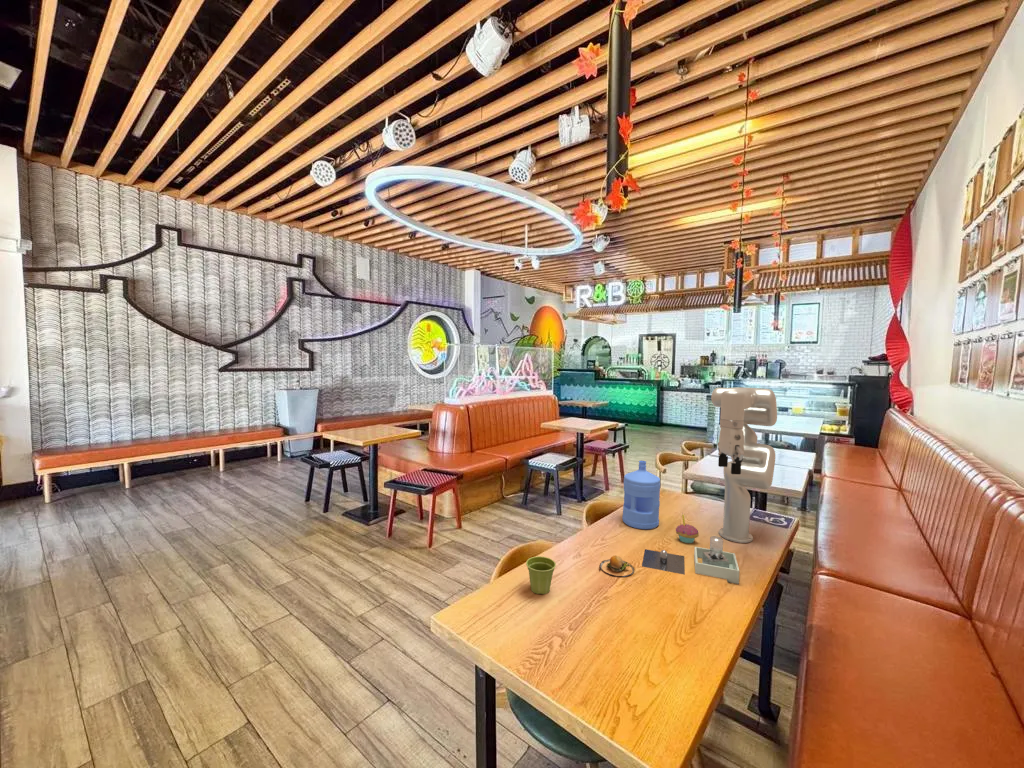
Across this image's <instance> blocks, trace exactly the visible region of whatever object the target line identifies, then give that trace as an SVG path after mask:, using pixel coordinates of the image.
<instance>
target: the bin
mask: <svg viewBox="0 0 1024 768" xmlns="http://www.w3.org/2000/svg"><path fill="white" fill-rule="evenodd" d="M693 552H694V553H693V556H694V557H693V558H694V559H693V560H694V570H695V571H694V573H695V574H697V575H702V576H708V577H712V578H713V577H714V578H716V579H717V578H718V579H722V580H726V582H727V583H730V584H735V585H739V584H740V569H739V564H738V560H737V557H736V553H734V552H728V551H724V550H723V553H722V554H723V555H724V556H725V557H726V558H727V559H728V560H729V561H730V563H729V568H725V567H719V566H714V565H708V564H703V563H702V562H699V559H702V557H703V552H710V548H706V547H698V546H694V551H693ZM698 558H699V559H698Z"/></svg>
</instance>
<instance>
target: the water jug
mask: <svg viewBox="0 0 1024 768" xmlns="http://www.w3.org/2000/svg"><path fill="white" fill-rule="evenodd" d="M623 491H624V492H623V494H624V495H623V505H622V521H623V523H625V524H626V525H627V526H629V527H631V528H634V529H638V530H652V529H653V530H654V529H655V528H657V527H658V526H659V524H660V519H659V518H660V506H661V505H660V504H661V503H660V497H661V495H660V494H661V493H660V491H661V478H660V477H659V476H657V475H655V474H653V473H651V472H650V471H647V461H645V460H639V461H638V469H636V470H634V471H631V472H627V473H625V475H624V476H623Z"/></svg>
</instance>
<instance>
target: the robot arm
mask: <svg viewBox="0 0 1024 768" xmlns="http://www.w3.org/2000/svg"><path fill="white" fill-rule="evenodd" d="M711 402H712V405H713V407H717V408H720V419H719V428H720V429H719V438H718V442H717V447H718V449H717V451H718V453H717V454H718V461H717V462H718V464H717V465H718V467H720V468H723V480H724V502H723V503H724V504H723V505H724V506H723V522H722V523H723V525H722V528H720V529H718V535H719V537H721V538H722V539H725V540H727V541H731V542H734V543H741V544H745V543H746V544H747V543H751V542H752V541H753V540H754V537H753V535H752V534H751V533H749V532H750V517H751V501H752V499H751V494H750V493H749V491H748V489H747V488H753V489H759V490H768V489H770V488H771V486H772V484H773V479H774V478H773V477H774V471H775V464H776V451H775V449H774V447H772V445H768V444H764V443H758V435H757V433H756V432H755V431H754V430H753V428H751V427H750V426H749V425H752V426H762V427H763V426H764V427H772V426H775V425H776V423H777V420H778V408H777V397H776V395H775V392H774V391H773V390H772V389H770V388H759V387H758V388H757V387H738V386H737V387H716V388H714V389H713V390H712V392H711ZM729 457H730V458H731V461H729Z"/></svg>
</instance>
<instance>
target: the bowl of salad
mask: <svg viewBox="0 0 1024 768" xmlns="http://www.w3.org/2000/svg"><path fill="white" fill-rule="evenodd" d="M605 563H607V564H606V568H609V569H610V570H611V571H613V572H618V573H619V572H620V573H621V572H622V571H623V570H626V568H627V567H630V568H631V570H632V572H631V573H630V574H627V575H615V574H612V573H609V572H606V571H605V570H603V565H604V564H605ZM598 570H599V572H601V571H602V572H603V573H604V574H606V575H608V576H610V577H614V578H615V577H618V578H627V577H629V576H631V575H632V574H634V572H635V567H634V566H633V565H632V564H631V563H629V562H627V561H625V560H623V559H622V557H620V556H618V555H612V556H611V557H610V559H603V560H602V561H601V562H600V563H599V566H598Z"/></svg>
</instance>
